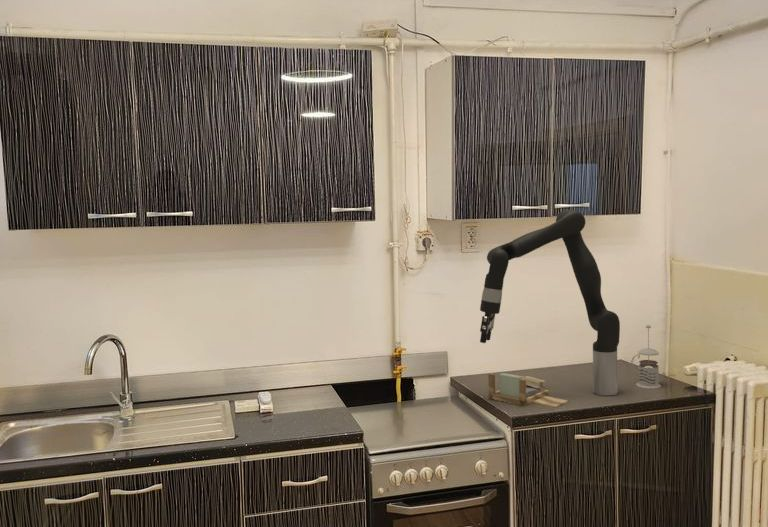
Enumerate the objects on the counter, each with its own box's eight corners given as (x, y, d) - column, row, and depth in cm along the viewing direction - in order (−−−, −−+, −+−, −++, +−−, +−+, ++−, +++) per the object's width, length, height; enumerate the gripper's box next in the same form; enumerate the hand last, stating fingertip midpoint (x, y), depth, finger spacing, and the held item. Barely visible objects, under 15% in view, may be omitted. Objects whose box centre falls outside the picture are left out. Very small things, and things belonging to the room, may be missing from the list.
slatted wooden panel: (545, 397, 275) (545, 396, 275) (568, 401, 268) (568, 400, 268) (532, 402, 268) (532, 401, 268) (556, 407, 261) (556, 406, 261)
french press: (657, 389, 279) (657, 328, 277) (628, 385, 286) (627, 325, 284) (664, 384, 287) (664, 323, 285) (635, 380, 294) (635, 321, 292)
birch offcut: (526, 382, 285) (527, 376, 285) (544, 387, 280) (545, 381, 280) (519, 383, 280) (521, 377, 280) (538, 388, 275) (539, 382, 275)
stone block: (527, 393, 288) (506, 392, 284) (529, 382, 288) (508, 380, 284) (544, 402, 277) (523, 400, 273) (546, 390, 277) (525, 388, 273)
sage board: (503, 397, 277) (502, 373, 276) (522, 401, 271) (522, 376, 270) (499, 399, 275) (499, 374, 274) (519, 403, 269) (518, 377, 268)
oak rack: (514, 388, 289) (513, 364, 288) (548, 395, 278) (548, 370, 277) (488, 398, 276) (488, 374, 275) (523, 406, 265) (523, 380, 264)
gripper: (497, 303, 261) (491, 345, 263) (504, 300, 275) (497, 340, 276) (478, 299, 264) (471, 342, 265) (485, 297, 277) (479, 337, 278)
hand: (485, 341), depth 270 cm, fingers open, 8 cm apart
